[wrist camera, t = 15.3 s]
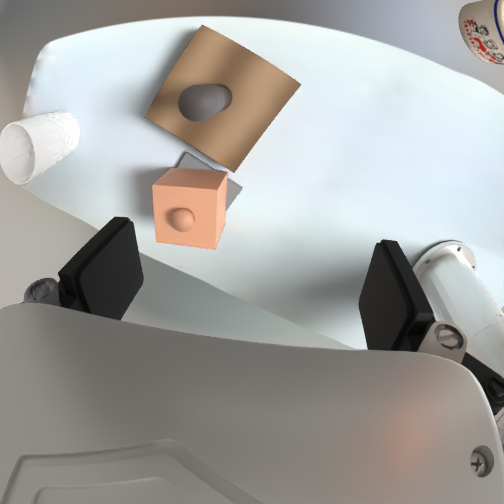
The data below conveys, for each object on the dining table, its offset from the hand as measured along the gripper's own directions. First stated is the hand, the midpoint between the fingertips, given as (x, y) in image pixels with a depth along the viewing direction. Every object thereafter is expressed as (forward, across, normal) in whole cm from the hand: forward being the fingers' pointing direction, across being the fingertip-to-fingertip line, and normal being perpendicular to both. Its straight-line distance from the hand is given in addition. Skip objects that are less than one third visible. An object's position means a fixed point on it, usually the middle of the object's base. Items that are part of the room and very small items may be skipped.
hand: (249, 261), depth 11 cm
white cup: (+24, +29, -2) cm, 38 cm away
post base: (+24, +6, -5) cm, 26 cm away
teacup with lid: (+25, -27, -20) cm, 42 cm away
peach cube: (+24, +9, +7) cm, 27 cm away
